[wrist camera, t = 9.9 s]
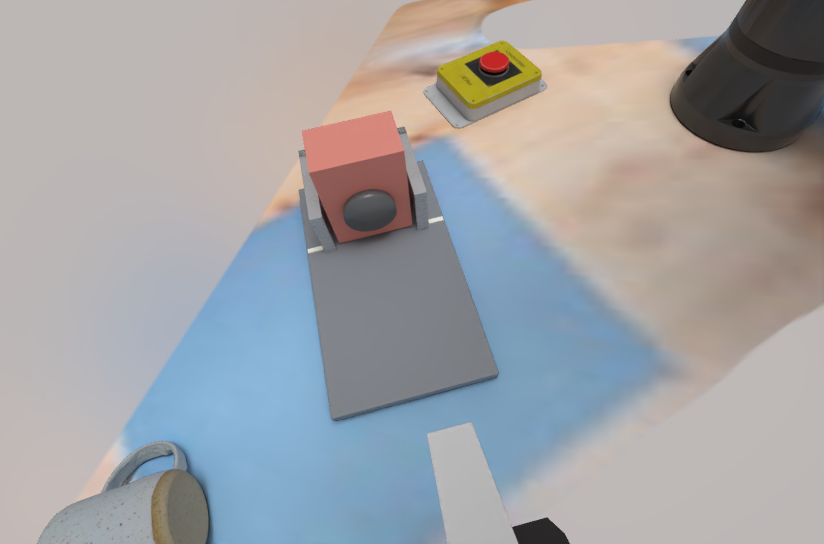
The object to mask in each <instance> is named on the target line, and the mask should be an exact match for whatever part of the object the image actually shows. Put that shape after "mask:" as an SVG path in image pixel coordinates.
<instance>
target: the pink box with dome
mask: <svg viewBox="0 0 824 544" xmlns="http://www.w3.org/2000/svg"><path fill="white" fill-rule="evenodd" d="M302 135H303V141H304V147H305V153H306V159H307V165H308V172H309V175H310V177H311V179H312V182H313V184H314V186H315V189H316V191H317V193H318V195H319V198H320V200H321V202H322V205H323V207H324V209H325V212H326V214H327V216H328V219H329V221H330V223H331V225H332V228H333V230H334V232H335V235H336V237H337V239H338V242H339V243H343V242H347V241H351V240H355V239H359V238H363V237H367V236H371V235H375V234H380V233H384V232H388V231H392V230H396V229H400V228H404V227H408V226H412V216H411V207H410V198H409V189H408V180H407V171H406V162H405V153H404V148H403V145H402V142H401V139H400V136H399V133H398V130H397V127H396V124H395V121H394V118H393V115H392V112H391V111H387V112H383V113H379V114H374V115H370V116H365V117H361V118H357V119H352V120H348V121H343V122H339V123H335V124H330V125H326V126H321V127H317V128H313V129H308V130H304V131H302Z"/></svg>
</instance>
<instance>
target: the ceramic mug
mask: <svg viewBox="0 0 824 544" xmlns="http://www.w3.org/2000/svg"><path fill="white" fill-rule="evenodd" d="M171 453H173V454H174V468H173V470H167V471H162V472H158V473H154V474H151V475H149V476H146V477H143V478H141V479H138V480H136V481H134V482H131V483H129V484H126V485H123V484H124V483H125V481H126V480H127V478H128V477H129V476H130V474H131V473H132V472H133V471H134V470H135V469H136V468H137V467H138V466H139V465H140V464H142V463H144V462H145V461H147V460H149V459H152V458H155V457H159V456H162V455H165V456H167V455H169V454H171ZM186 470H187V462H186V457H185V455H184V453H183V452H182V450H181V449H180V448H179V447H177V446H176V445H174V444H173V443H170V442H167V441H159V442H153V443H150V444H147V445H145V446H143V447H141V448H139V449H137V450H136V451H134V452H133V453H131V454H130V455H129V456H127V457H126V458H125V459H124V460H123V461H122V462H121V463H120V464H119V465H118V467H117V468H116V469H115V470H114V471H113V473H112V474H111V476H110V477H109V479H108V480H107V482H106V484H105V485H104V488H103V490H102V492H101V494H98V495H95V496H92V497H89V498H87V499H84V500H81V501H78V502H76V503H74V504H71V505H69V506H67V507H66V508H65V509H63V510H61V511H60V512H59V513H57V514H56V515H55V516H54V517H53V519H51V521H50V522H49V523H48V525H47V526H46V527H45V529H44V530H43V532H42V534H41V536H40V538H39V540H38V543H37V544H206V540H207V536H208V529H209V516H208V508H207V503H206V500H205V496H204V493H203V491H202V488H201V486H200V485H199V483H198V482H197V480H196V479H195V478H194V477H193V476H192V475H191V474H190V473H188V472H186Z"/></svg>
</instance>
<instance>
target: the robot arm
mask: <svg viewBox="0 0 824 544" xmlns="http://www.w3.org/2000/svg"><path fill="white" fill-rule="evenodd" d="M671 105H672V108H673V110H674V112H675V114H676V116H677V117H678V118H679V120H680V121H681V122H682V123H683V124H684V125H685V126H686V127H687V128H688V129H690V130H691V131H692V132H694V133H695V134H697V135H699V136H700V137H702V138H704V139H706V140H708V141H710V142H713V143H715V144H718V145H721V146H724V147H727V148H731V149H736V150H743V151H769V150H775V149H779V148H782V147H785V146H787V145H789V144H791V143H792V142H794V141H795V140H796V139H798V138H799V137H800V136H801V135H802V134H803V133H804V132H805V131H806V130H807V129H808V128H809V127H810V126H811V125H812V124H813V123H814V122H815V120H816V119H817V117H818V115H819V113H820V111H821V109H822V107H823V105H824V0H746V1H745V3H744V4H743V6H742V7H741V9H740V11H739V12H738V14H737V15H736V17H735V18H734V20H733V22H732V23H731V25H730V26H729V28H728V29H727V30H726V31H725V32H724V33H723V34H722V35H721V36H720V37H719V38H718V39H716V40H715V41H714V42H713V43H712V44H711V45H710V46H709V47H708V48H707V49H706V50H705V51H704V52H702V53H701V54H700V55H699V56H698V57H697V58H696V59H695V60H694V61H693V62H692V63H690V64H689V65H688V66H687V67H686V69H685V70H684V71H683V72H682V74H681V75H680V77H679V79H678V80H677V82H676V84H675V85H674V87H673V89H672V92H671ZM427 437H428V442H429V448H430V453H431V458H432V463H433V469H434V474H435V479H436V485H437V490H438V495H439V500H440V506H441V511H442V516H443V522H444V527H445V532H446V537H447V543H448V544H570V543H569V541H568V539H567V537H566V535H565V533H563V532H562V531H561V530H560V529H559V528H558V527H557V526H556V525H555V524H554V523H553V522H551V521H550V520H549V519H548V518H543V519H540V520H536V521H532V522H529V523H525V524H521V525H518V526H514V527H512V526H511V523H510V521H509V518H508V516H507V513H506V510H505V508H504V505H503V503H502V500H501V497H500V495H499V492H498V490H497V487H496V484H495V482H494V479H493V477H492V474H491V471H490V469H489V466H488V464H487V461H486V458H485V456H484V453H483V451H482V448H481V445H480V443H479V440H478V438H477V435H476V432H475V430H474V427H473V425H472V422H469V423H465V424H462V425H458V426H454V427H450V428H447V429H443V430H439V431H435V432H432V433H428V434H427Z"/></svg>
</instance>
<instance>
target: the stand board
mask: <svg viewBox="0 0 824 544" xmlns="http://www.w3.org/2000/svg"><path fill="white" fill-rule="evenodd" d="M417 165H418V168H419V171H420V173H421V176H422V179H423V182H424V185H425V188H426V191H427V205H428V227H429V228H427V229H423V230H419V231H418V230H417V227H416V224H415V220H414V217H413V214H412V211H411V216H412V226H408V227H404V228H400V229H396V230H392V231H388V232H384V233H380V234H375V235H371V236H367V237H363V238H359V239H355V240H351V241H347V242H343V243H339V242H338V239H337V237H336V235H335V232H334V236H335V242H336V247H337V251H334V252H330V253H326V252H325V250H324V248H323V247H322V245H321V243H320V241H319V239H318V237H317V235H316V233H315V231H314V229H313V227H312V225H311V223H310V221H309V217H308V210H307V204H306V197H305V190H304V189H300V190H299V196H300V203H301V210H302V217H303V224H304V231H305V238H306V245H307V252H308V259H309V266H310V273H311V280H312V287H313V294H314V301H315V308H316V315H317V322H318V329H319V336H320V343H321V350H322V357H323V364H324V371H325V378H326V385H327V393H328V400H329V407H330V414H331V419H332V420H334V421H338V420H342V419H345V418H349V417H353V416H356V415H360V414H364V413H367V412H371V411H375V410H378V409H382V408H386V407H389V406H393V405H397V404H400V403H404V402H408V401H412V400H415V399H419V398H423V397H426V396H430V395H434V394H437V393H441V392H445V391H448V390H452V389H456V388H459V387H463V386H467V385H470V384H474V383H478V382H481V381H485V380H489V379H492V378H496V377H497V376H498V374H499V372H498V369H497V366H496V364H495V361H494V358H493V355H492V352H491V350H490V347H489V344H488V341H487V338H486V336H485V333H484V330H483V327H482V324H481V322H480V319H479V316H478V313H477V310H476V308H475V305H474V302H473V299H472V296H471V294H470V291H469V288H468V285H467V282H466V280H465V277H464V274H463V271H462V268H461V266H460V263H459V260H458V257H457V254H456V252H455V249H454V246H453V243H452V240H451V238H450V235H449V232H448V229H447V226H446V224H445V221H444V218H443V215H442V212H441V210H440V207H439V204H438V201H437V198H436V196H435V193H434V190H433V187H432V184H431V182H430V179H429V176H428V173H427V170H426V168H425V165H424V162H423V161H419V162H417ZM333 231H334V230H333Z"/></svg>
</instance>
